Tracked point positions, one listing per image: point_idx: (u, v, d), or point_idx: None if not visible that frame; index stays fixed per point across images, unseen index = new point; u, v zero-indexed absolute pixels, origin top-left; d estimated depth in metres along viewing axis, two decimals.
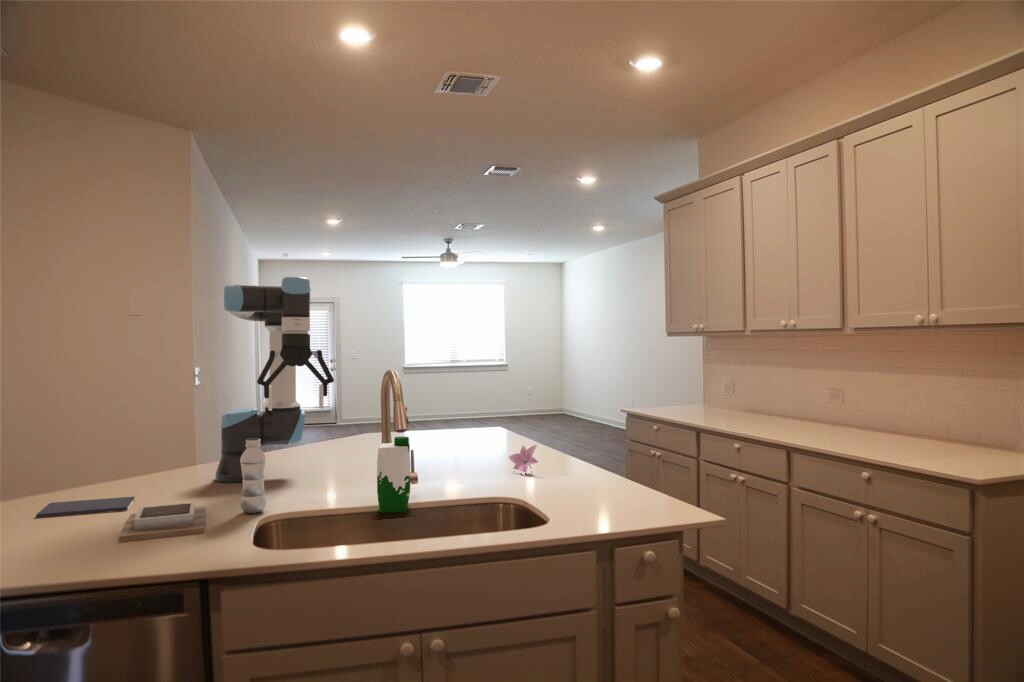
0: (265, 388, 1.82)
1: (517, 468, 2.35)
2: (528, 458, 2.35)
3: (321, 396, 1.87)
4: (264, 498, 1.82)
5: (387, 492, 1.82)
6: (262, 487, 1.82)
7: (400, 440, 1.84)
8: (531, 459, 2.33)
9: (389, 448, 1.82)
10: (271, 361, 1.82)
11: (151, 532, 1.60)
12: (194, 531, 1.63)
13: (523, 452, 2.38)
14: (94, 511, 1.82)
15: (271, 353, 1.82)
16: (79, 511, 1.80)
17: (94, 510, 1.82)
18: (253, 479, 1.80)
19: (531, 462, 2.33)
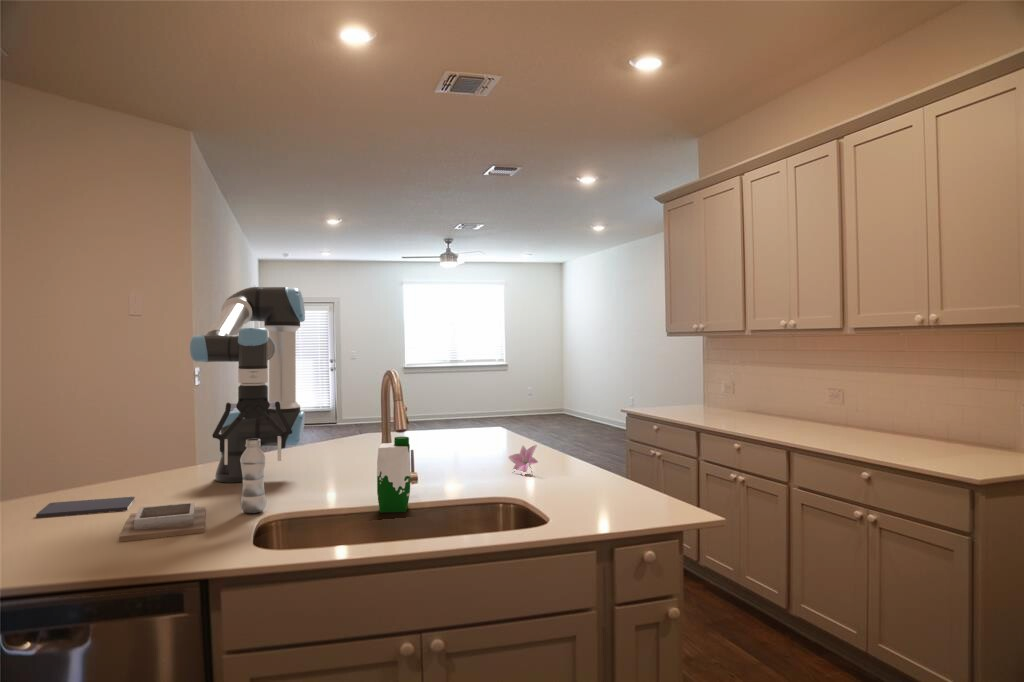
0: (220, 442, 1.78)
1: (516, 468, 2.35)
2: (528, 458, 2.35)
3: (279, 448, 1.84)
4: (264, 498, 1.82)
5: (387, 492, 1.82)
6: (262, 487, 1.82)
7: (400, 440, 1.84)
8: (531, 459, 2.33)
9: (389, 448, 1.82)
10: (227, 414, 1.78)
11: (151, 532, 1.60)
12: (194, 531, 1.63)
13: (523, 452, 2.37)
14: (94, 511, 1.82)
15: (227, 406, 1.78)
16: (79, 511, 1.80)
17: (94, 510, 1.82)
18: (253, 479, 1.80)
19: (531, 462, 2.32)
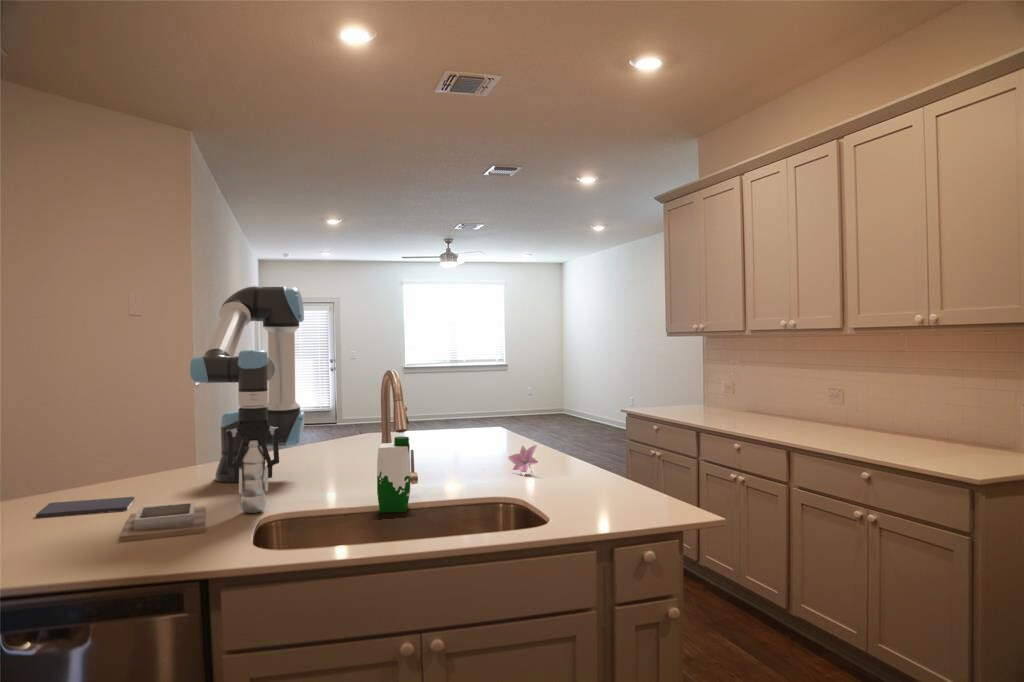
0: (235, 470, 1.80)
1: (516, 468, 2.34)
2: (528, 458, 2.35)
3: (266, 478, 1.83)
4: (264, 498, 1.82)
5: (387, 492, 1.82)
6: (262, 487, 1.82)
7: (400, 440, 1.84)
8: (531, 459, 2.33)
9: (389, 448, 1.82)
10: (231, 441, 1.79)
11: (151, 532, 1.60)
12: (194, 531, 1.63)
13: (523, 452, 2.37)
14: (94, 511, 1.81)
15: (228, 434, 1.79)
16: (79, 511, 1.80)
17: (94, 510, 1.82)
18: (253, 479, 1.80)
19: (531, 462, 2.32)
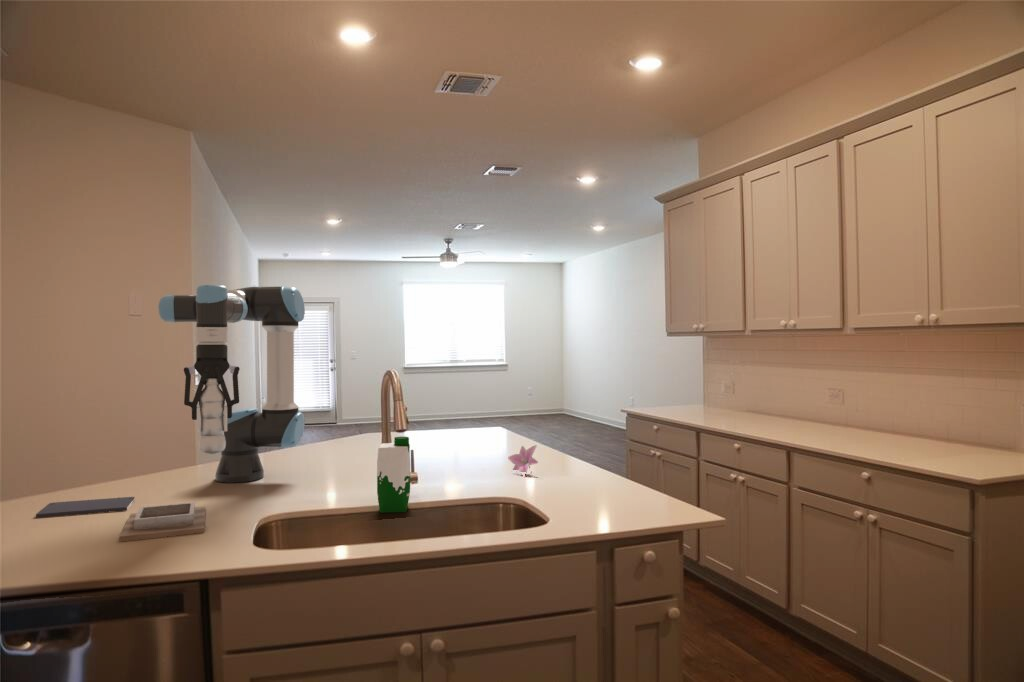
0: (192, 409, 1.73)
1: (516, 469, 2.34)
2: (528, 459, 2.34)
3: (225, 418, 1.76)
4: (223, 438, 1.76)
5: (387, 492, 1.82)
6: (221, 427, 1.76)
7: (400, 440, 1.84)
8: (531, 460, 2.32)
9: (389, 448, 1.82)
10: (189, 378, 1.73)
11: (151, 532, 1.60)
12: (194, 531, 1.63)
13: (523, 453, 2.37)
14: (94, 511, 1.81)
15: (185, 371, 1.72)
16: (79, 511, 1.80)
17: (94, 510, 1.81)
18: (212, 418, 1.74)
19: (531, 463, 2.32)
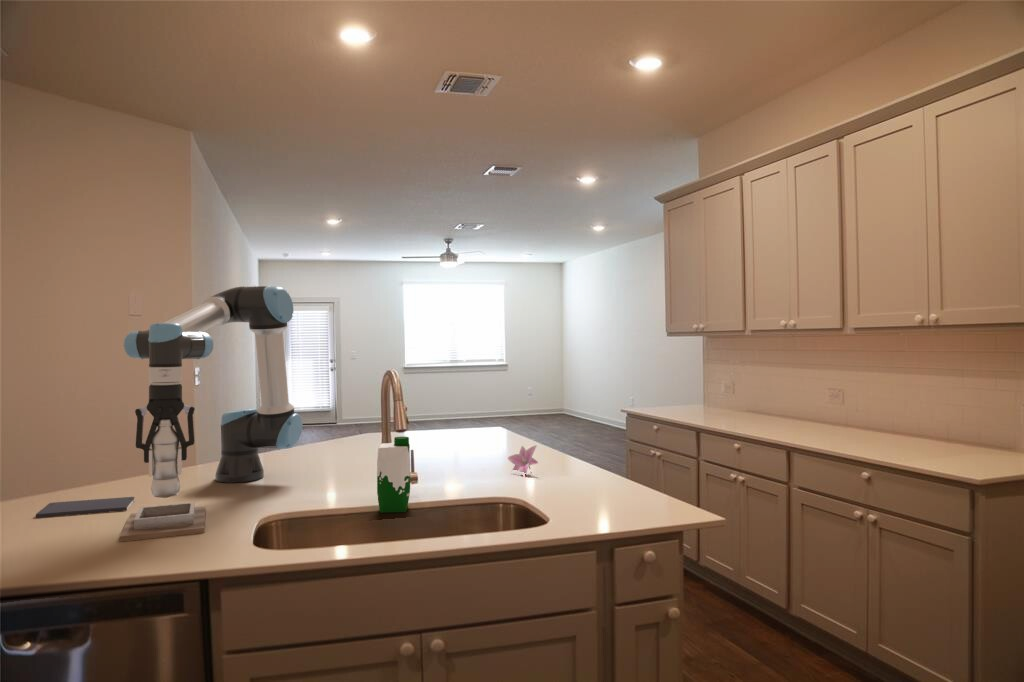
0: (145, 452, 1.68)
1: (516, 469, 2.33)
2: (528, 459, 2.34)
3: (179, 461, 1.70)
4: (177, 482, 1.70)
5: (387, 492, 1.82)
6: (175, 470, 1.70)
7: (400, 440, 1.84)
8: (531, 460, 2.32)
9: (389, 448, 1.82)
10: (140, 420, 1.67)
11: (151, 532, 1.60)
12: (194, 531, 1.63)
13: (522, 453, 2.36)
14: (93, 511, 1.81)
15: (136, 412, 1.66)
16: (78, 511, 1.80)
17: (93, 510, 1.81)
18: (164, 461, 1.68)
19: (531, 463, 2.31)
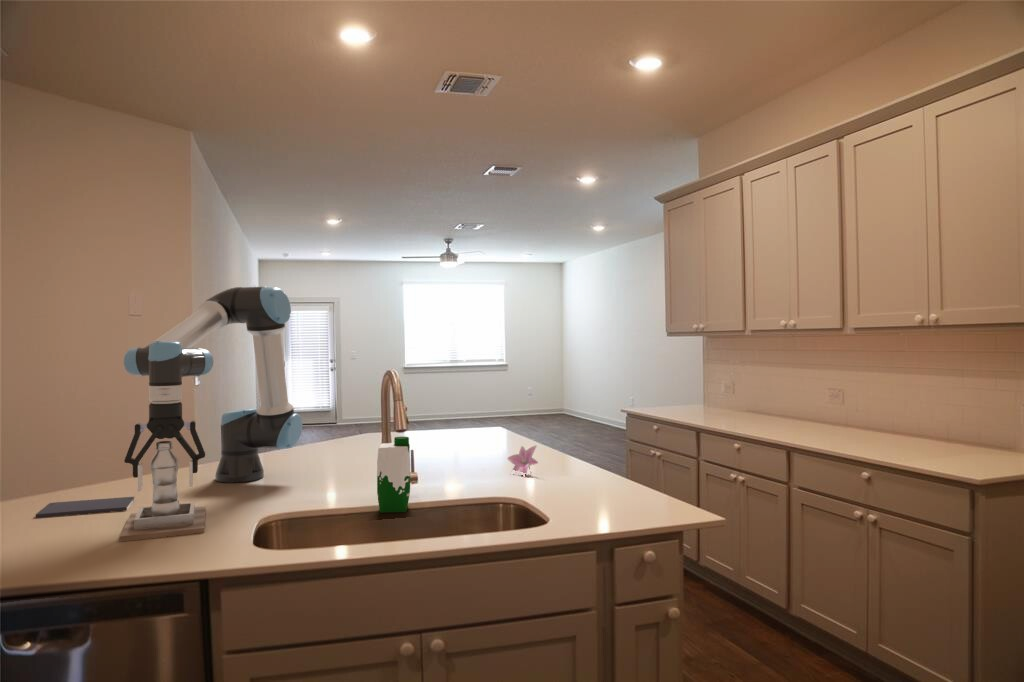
0: (134, 467, 1.67)
1: (516, 469, 2.33)
2: (528, 459, 2.34)
3: (190, 473, 1.71)
4: (177, 505, 1.70)
5: (387, 492, 1.82)
6: (174, 493, 1.70)
7: (400, 440, 1.84)
8: (531, 460, 2.32)
9: (389, 448, 1.82)
10: (137, 436, 1.66)
11: (151, 532, 1.60)
12: (194, 531, 1.63)
13: (522, 453, 2.36)
14: (93, 511, 1.81)
15: (136, 427, 1.66)
16: (78, 511, 1.80)
17: (93, 510, 1.81)
18: (164, 484, 1.68)
19: (531, 463, 2.31)
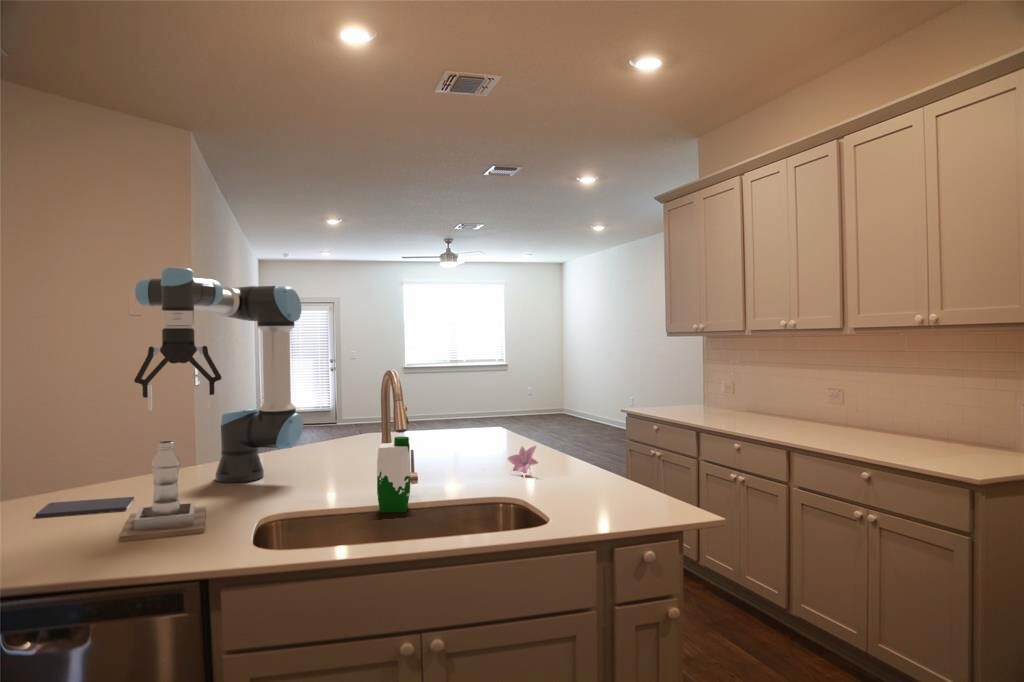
0: (143, 387, 1.70)
1: (516, 469, 2.33)
2: (527, 459, 2.33)
3: (207, 395, 1.75)
4: (177, 505, 1.70)
5: (387, 492, 1.82)
6: (175, 493, 1.70)
7: (400, 440, 1.84)
8: (531, 460, 2.32)
9: (389, 448, 1.82)
10: (149, 358, 1.70)
11: (151, 532, 1.60)
12: (194, 531, 1.63)
13: (522, 453, 2.35)
14: (93, 511, 1.81)
15: (149, 349, 1.70)
16: (78, 511, 1.80)
17: (93, 510, 1.81)
18: (165, 484, 1.68)
19: (531, 463, 2.31)
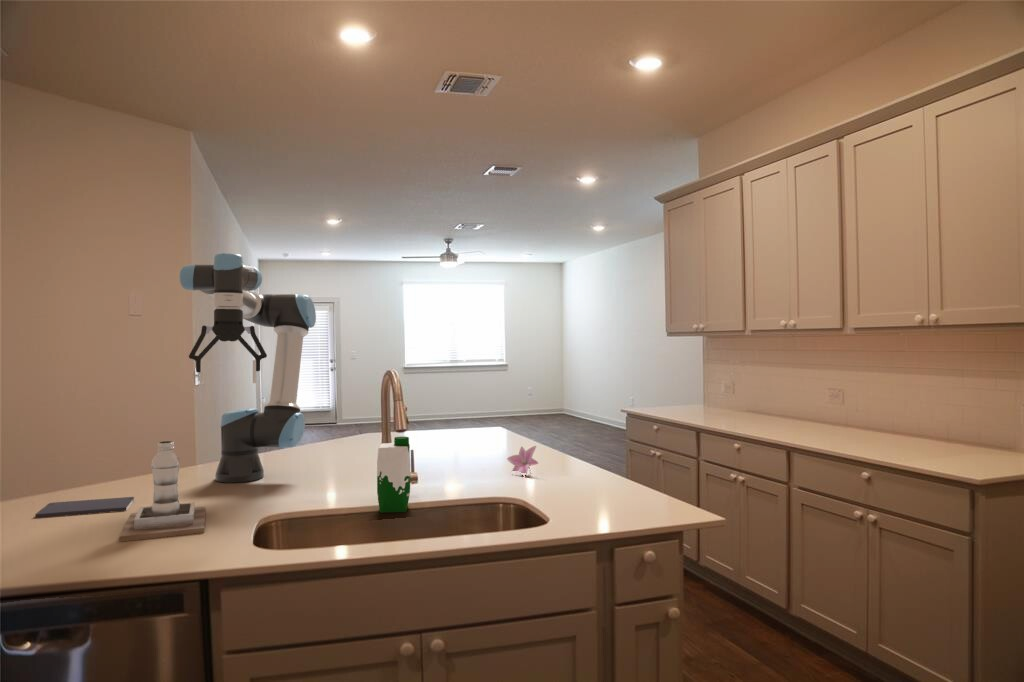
0: (197, 362, 1.85)
1: (516, 469, 2.32)
2: (527, 459, 2.33)
3: (254, 371, 1.90)
4: (177, 505, 1.70)
5: (387, 492, 1.82)
6: (175, 493, 1.70)
7: (400, 440, 1.84)
8: (531, 460, 2.31)
9: (389, 448, 1.82)
10: (203, 336, 1.85)
11: (151, 532, 1.60)
12: (194, 531, 1.63)
13: (522, 453, 2.35)
14: (93, 511, 1.81)
15: (203, 328, 1.85)
16: (78, 511, 1.80)
17: (93, 510, 1.81)
18: (164, 484, 1.68)
19: (531, 463, 2.30)
